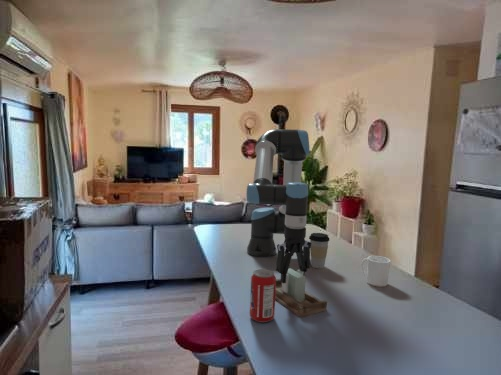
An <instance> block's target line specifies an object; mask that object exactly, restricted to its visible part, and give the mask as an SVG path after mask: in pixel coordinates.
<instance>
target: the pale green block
mask: <svg viewBox="0 0 501 375" xmlns="http://www.w3.org/2000/svg"><path fill="white" fill-rule="evenodd" d="M287 274H289V282H288V293H286V292H284V291H283V290H281V291H282V292H284V293H286V294H287V295H289V296H290V297H292V298H293V299H295V300H296V301H298V302H303V301H304V299H305V291H306V275H305V276H304V275H302V274H300V273H298V272H297V270H294V269H293V268H290V267H289V268H288V272H287Z"/></svg>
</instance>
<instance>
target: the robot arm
mask: <svg viewBox="0 0 501 375" xmlns="http://www.w3.org/2000/svg"><path fill="white" fill-rule="evenodd" d="M309 139H310V138H309V133H308V131H307V130H303V129H280V128H279V129H278V128H275V129H271V130H268V131H265V133H263V134H262V135H261V136H260V137H259V138H258V139H257V141H256V144H255V146H254V147H255V148H254V151H255V154H256V156H255V157H256V158H255V165H254V173H253V182H252V183H248V184H247V186H246V202H248V204H255V205H275V206H276V205H277V206H279V205H280V206H279V207H278V210H276V209H275V207H260V208H255V209H254V210H252V212H251V218H250V220H251V223H250V224H251V227H250V229H251V230H250V239H249V242H248V244H247V248H246V253H247V254H248V255H251V256H254V257H261V258H262V257H263V258H264V257H266V258H267V257H273V256H275V255H276V254H277V257H276V270H275V271H276V272H277V273H279V274H280V279H281V282H282V290H283V291H284V292H286V293H288V282H289V274H287V272H288V269H289V268H290V264H291V260H292V257H294V255H296V259H297V264H298V268H299V269H297V270H296V272H298V273H300V274H302V275H304V276H306V274H305V273H306V272H307V271H308V270H310V268H311V251H310V247H311V242H310V241H308V240H305V238H306V237H307V235H306V234H307V228H306V226H307V220H308V219H307V218H308V216H307V215H308V213H307V211H308V196H309V185H308V184H307V183H305V182H302V174H303V173H302V170H303V162H304V161H306V159H307V157H308V156H310V140H309ZM276 155H281V156H280V157H281V158H280V159H281V160H282V161H283V182H282V184H273V178H274V177H273V174H274V172H273V171H274V156H276ZM275 234H277V235H284V241H283V243H281V244H276V242H275V239H274V235H275Z"/></svg>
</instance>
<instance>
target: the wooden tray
mask: <svg viewBox="0 0 501 375" xmlns="http://www.w3.org/2000/svg"><path fill="white" fill-rule="evenodd" d="M281 290H282V282H281V278H276V292H275V302H277V303H279V304H280V305H282V306H283V307H284V308H286V309H288V310H289V311H291V312H292V313H293V314H295V315H296V316H298V317H299V318H303V317H306V316H307V317H308V316H310V315H314V314H317V313H321V312H325V311H327V310H328V309H327V307H328V301H327V300H321V299H320V298H317V296H315V295H312V294H311V293H309V292H308V291H306V290H305V299H304V301H303V302H298V301H296V300H295V299H293V298H292V297H290V296H289V295H287V294H286V293H284V292H282V291H281Z"/></svg>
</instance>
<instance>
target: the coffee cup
mask: <svg viewBox="0 0 501 375" xmlns="http://www.w3.org/2000/svg"><path fill="white" fill-rule="evenodd" d="M308 239H309V242H311V247H310V266H311V267H312V268H315V269H324V268H325V266H326V258H327V255H328V254H327V253H328V250H329V249H328V248H329V241H330V237H329V235H328V234H327V233H322V232H312V233H311V234H310V235H309V238H308Z"/></svg>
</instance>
